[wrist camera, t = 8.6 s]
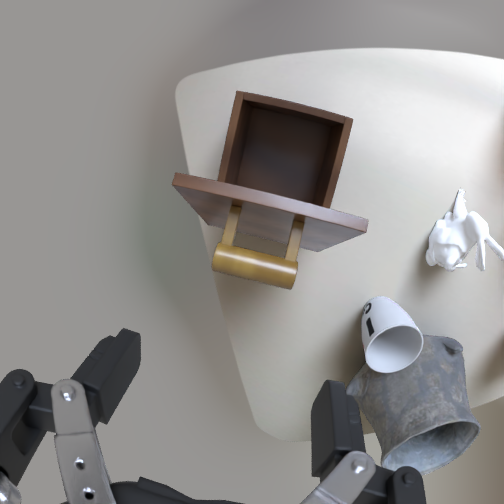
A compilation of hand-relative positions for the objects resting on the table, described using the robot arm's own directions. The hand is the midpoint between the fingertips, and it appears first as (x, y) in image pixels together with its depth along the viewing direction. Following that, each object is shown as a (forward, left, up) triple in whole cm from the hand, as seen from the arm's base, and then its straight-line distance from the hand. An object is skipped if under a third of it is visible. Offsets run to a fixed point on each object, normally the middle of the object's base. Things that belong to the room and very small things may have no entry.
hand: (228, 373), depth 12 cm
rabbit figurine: (-3, +27, -31) cm, 41 cm away
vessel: (+22, +29, -31) cm, 48 cm away
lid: (-3, 0, -15) cm, 15 cm away
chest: (-6, 0, -31) cm, 32 cm away
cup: (+12, +20, -31) cm, 39 cm away
